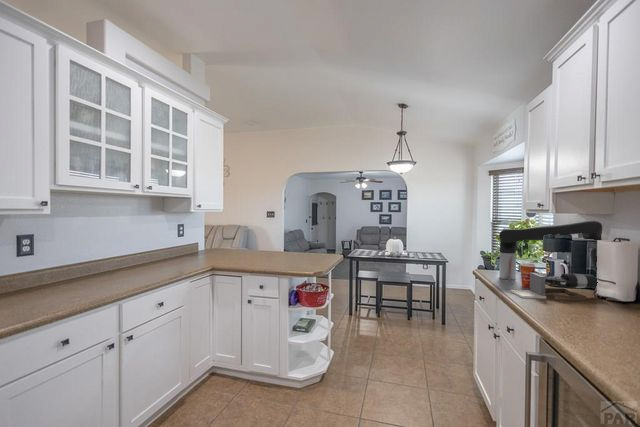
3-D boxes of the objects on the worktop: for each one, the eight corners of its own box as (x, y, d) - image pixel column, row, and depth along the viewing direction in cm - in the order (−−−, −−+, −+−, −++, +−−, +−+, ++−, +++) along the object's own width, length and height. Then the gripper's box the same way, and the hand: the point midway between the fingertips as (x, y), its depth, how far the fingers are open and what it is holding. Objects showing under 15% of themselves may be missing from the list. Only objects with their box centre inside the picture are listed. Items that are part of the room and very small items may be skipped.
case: (536, 291, 173) (536, 287, 173) (564, 291, 172) (564, 288, 171) (555, 299, 157) (555, 295, 157) (586, 300, 156) (586, 296, 156)
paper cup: (516, 285, 185) (517, 262, 184) (524, 284, 188) (525, 261, 188) (530, 288, 178) (530, 264, 177) (538, 287, 181) (538, 263, 180)
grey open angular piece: (509, 291, 172) (510, 272, 172) (532, 292, 171) (532, 272, 171) (522, 298, 160) (522, 277, 160) (546, 298, 159) (546, 277, 159)
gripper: (564, 271, 170) (531, 270, 171) (583, 276, 157) (547, 276, 158) (564, 284, 170) (531, 284, 172) (582, 291, 157) (547, 290, 158)
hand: (539, 280), depth 165 cm, fingers closed
